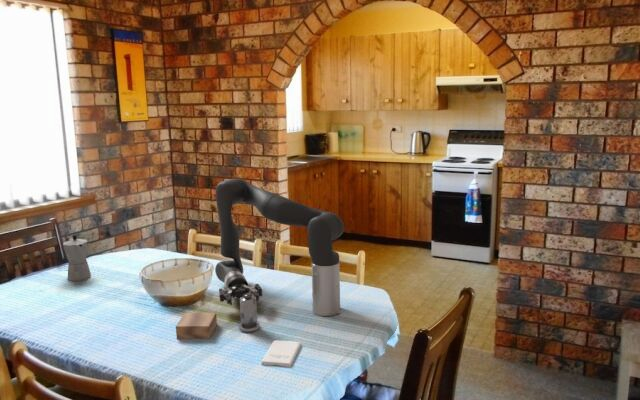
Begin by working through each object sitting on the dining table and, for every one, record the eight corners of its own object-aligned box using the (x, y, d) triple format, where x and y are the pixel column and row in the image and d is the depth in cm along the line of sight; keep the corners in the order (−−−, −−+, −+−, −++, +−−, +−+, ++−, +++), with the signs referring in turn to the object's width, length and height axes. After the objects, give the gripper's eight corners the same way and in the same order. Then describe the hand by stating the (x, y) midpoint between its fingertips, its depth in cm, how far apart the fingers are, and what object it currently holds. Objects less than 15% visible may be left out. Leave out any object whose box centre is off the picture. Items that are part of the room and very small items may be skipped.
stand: (216, 324, 169) (216, 312, 169) (209, 338, 160) (208, 326, 159) (186, 324, 170) (185, 312, 169) (176, 338, 160) (175, 326, 159)
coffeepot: (97, 278, 215) (92, 235, 211) (73, 284, 208) (68, 240, 205) (82, 269, 226) (78, 229, 222) (59, 275, 219) (54, 233, 216)
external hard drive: (300, 347, 154) (290, 368, 142) (273, 345, 156) (261, 366, 144) (300, 341, 154) (290, 363, 142) (273, 339, 156) (261, 360, 144)
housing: (260, 323, 169) (259, 290, 167) (257, 332, 163) (256, 298, 161) (241, 323, 169) (239, 291, 167) (237, 332, 163) (235, 298, 161)
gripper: (215, 276, 185) (221, 292, 170) (255, 271, 189) (264, 286, 174) (216, 296, 187) (222, 314, 171) (256, 291, 191) (265, 308, 176)
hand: (243, 300), depth 173 cm, fingers open, 8 cm apart
